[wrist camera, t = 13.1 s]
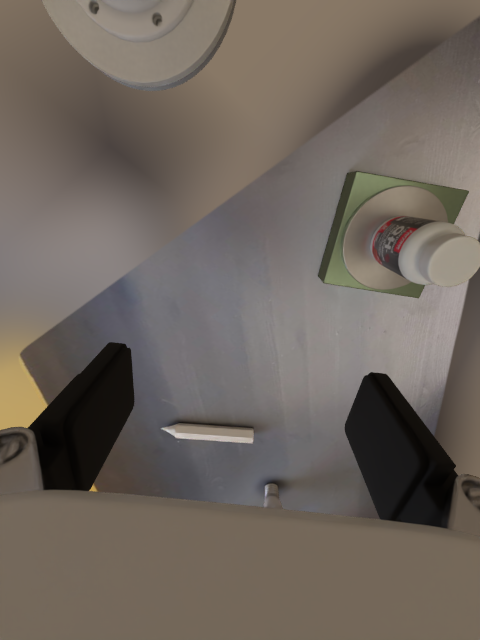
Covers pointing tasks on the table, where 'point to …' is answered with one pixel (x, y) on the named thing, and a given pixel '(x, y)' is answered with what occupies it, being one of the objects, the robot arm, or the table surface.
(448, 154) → the table surface
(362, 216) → the pan
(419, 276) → the pill bottle
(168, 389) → the table surface
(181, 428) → the white pencil
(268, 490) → the lightbulb
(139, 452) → the table surface
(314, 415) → the table surface
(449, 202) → the scale
